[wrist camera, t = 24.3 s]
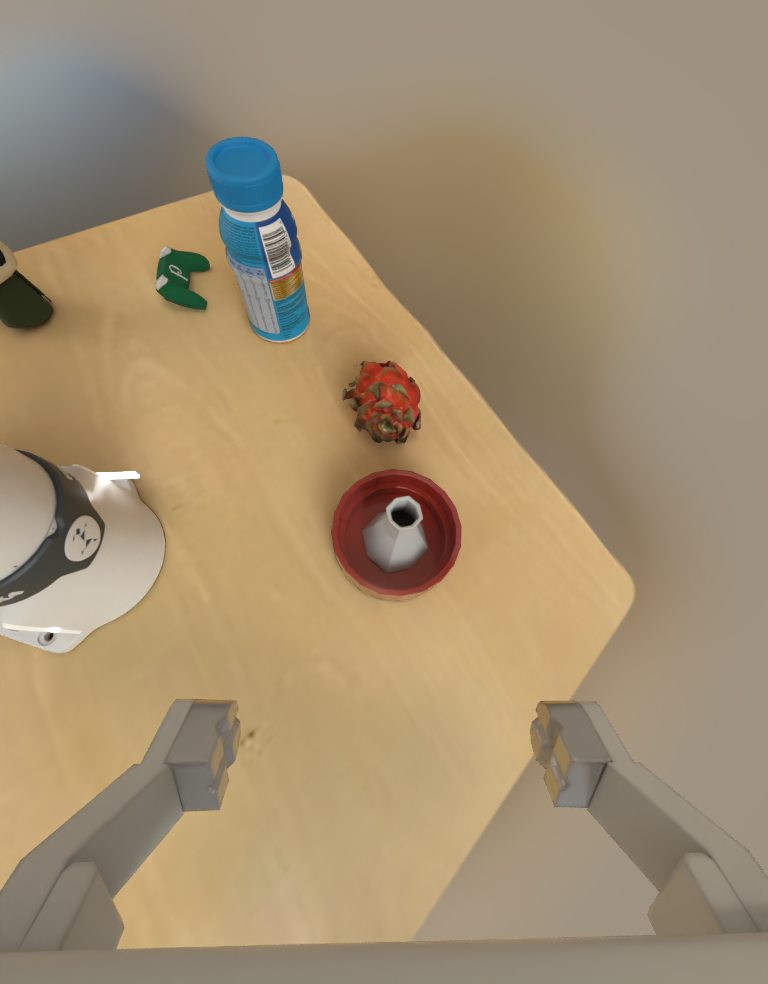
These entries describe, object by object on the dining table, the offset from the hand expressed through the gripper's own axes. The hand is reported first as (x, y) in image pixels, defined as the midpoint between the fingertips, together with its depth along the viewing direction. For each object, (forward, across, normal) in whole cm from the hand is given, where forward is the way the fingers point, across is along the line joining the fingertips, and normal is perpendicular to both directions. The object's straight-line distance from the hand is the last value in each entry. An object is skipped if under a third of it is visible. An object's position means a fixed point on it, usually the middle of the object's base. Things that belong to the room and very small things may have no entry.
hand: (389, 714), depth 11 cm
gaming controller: (+57, +27, -12) cm, 64 cm away
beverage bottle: (+53, +13, -9) cm, 56 cm away
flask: (+31, -3, +13) cm, 34 cm away
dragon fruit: (+43, -1, +2) cm, 43 cm away
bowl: (+31, -3, +13) cm, 34 cm away
